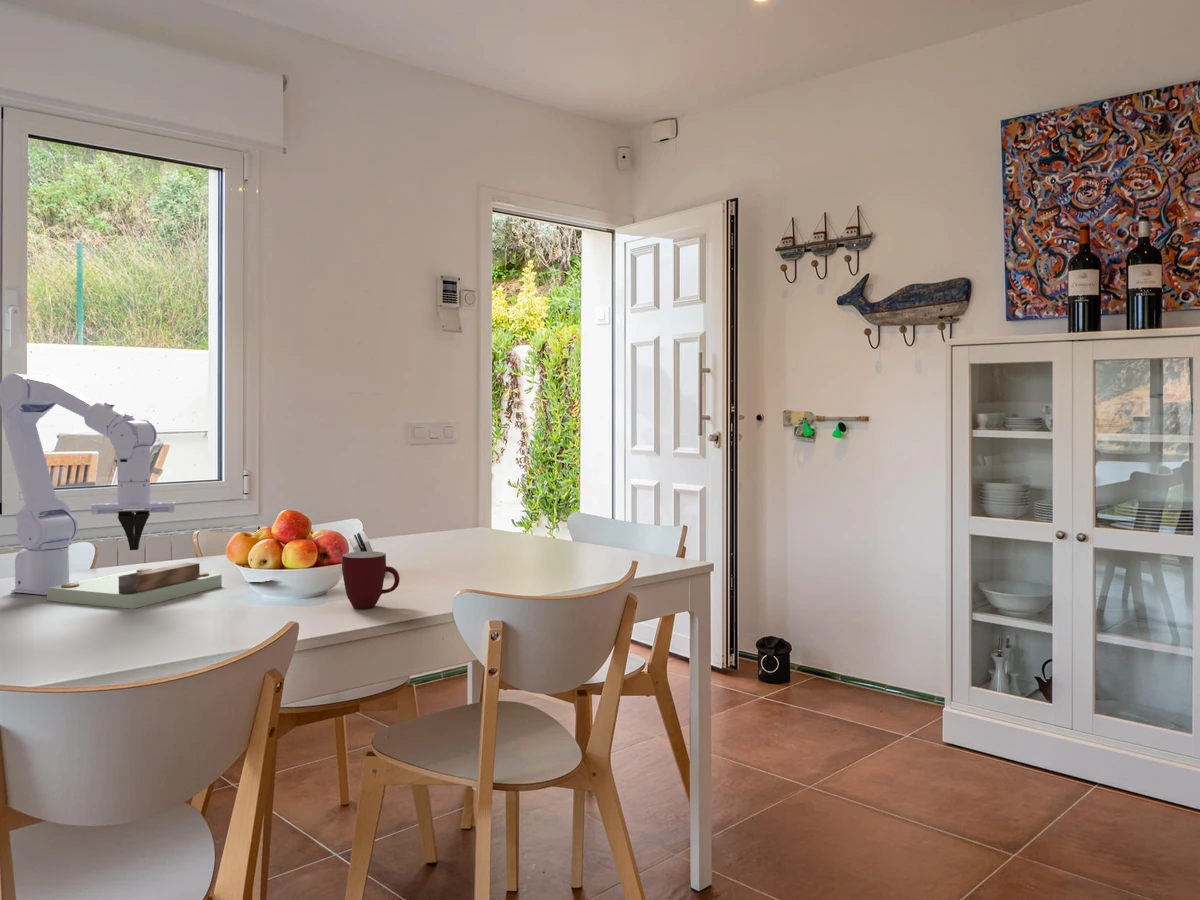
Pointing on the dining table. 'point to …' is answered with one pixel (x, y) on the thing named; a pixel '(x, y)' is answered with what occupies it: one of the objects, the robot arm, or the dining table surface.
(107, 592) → the stool seat
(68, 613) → the dining table surface
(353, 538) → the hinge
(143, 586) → the folding leg
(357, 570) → the mug
